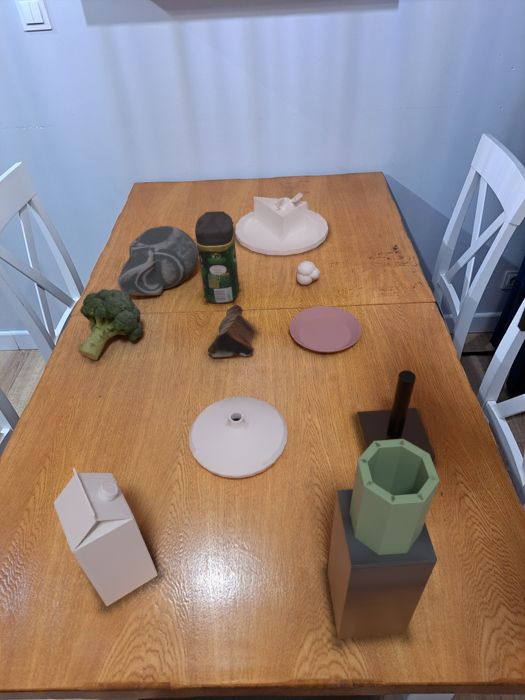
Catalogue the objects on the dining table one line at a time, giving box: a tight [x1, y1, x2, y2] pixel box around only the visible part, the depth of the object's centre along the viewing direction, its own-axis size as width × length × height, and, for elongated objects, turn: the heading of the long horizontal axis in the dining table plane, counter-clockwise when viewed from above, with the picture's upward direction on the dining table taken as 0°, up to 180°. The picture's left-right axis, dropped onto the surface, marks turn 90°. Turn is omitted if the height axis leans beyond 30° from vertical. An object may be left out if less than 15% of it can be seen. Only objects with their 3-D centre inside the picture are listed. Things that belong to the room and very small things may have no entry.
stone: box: [207, 304, 256, 359], centre depth 98 cm, size 9×6×15 cm
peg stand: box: [356, 369, 436, 463], centre depth 75 cm, size 10×10×14 cm
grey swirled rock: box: [117, 225, 199, 296], centre depth 112 cm, size 11×16×20 cm
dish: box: [234, 192, 329, 256], centre depth 128 cm, size 25×25×11 cm
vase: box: [188, 395, 289, 479], centre depth 77 cm, size 16×16×7 cm
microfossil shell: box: [296, 260, 321, 286], centre depth 112 cm, size 4×5×6 cm
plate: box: [289, 305, 362, 353], centre depth 99 cm, size 14×14×2 cm
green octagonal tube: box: [350, 439, 440, 555], centre depth 45 cm, size 6×6×9 cm
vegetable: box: [77, 288, 144, 361], centre depth 97 cm, size 12×13×15 cm
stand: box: [326, 488, 438, 640], centre depth 54 cm, size 8×8×20 cm
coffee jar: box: [194, 210, 240, 305], centre depth 105 cm, size 10×8×19 cm
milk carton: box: [53, 467, 159, 607], centre depth 59 cm, size 7×7×19 cm
